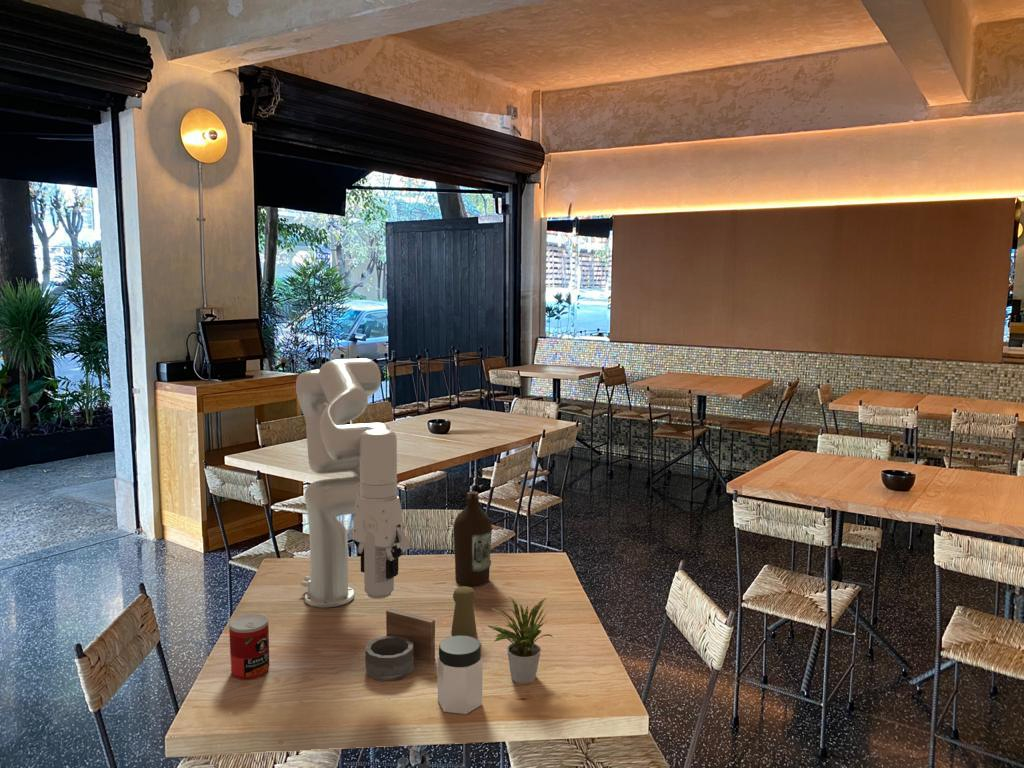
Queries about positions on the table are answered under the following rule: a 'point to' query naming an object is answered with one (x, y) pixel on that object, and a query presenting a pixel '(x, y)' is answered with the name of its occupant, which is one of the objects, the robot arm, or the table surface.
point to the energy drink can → (376, 570)
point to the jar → (460, 674)
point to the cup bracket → (400, 646)
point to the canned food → (249, 646)
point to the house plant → (522, 642)
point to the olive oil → (472, 543)
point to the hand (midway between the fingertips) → (379, 572)
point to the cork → (464, 612)
